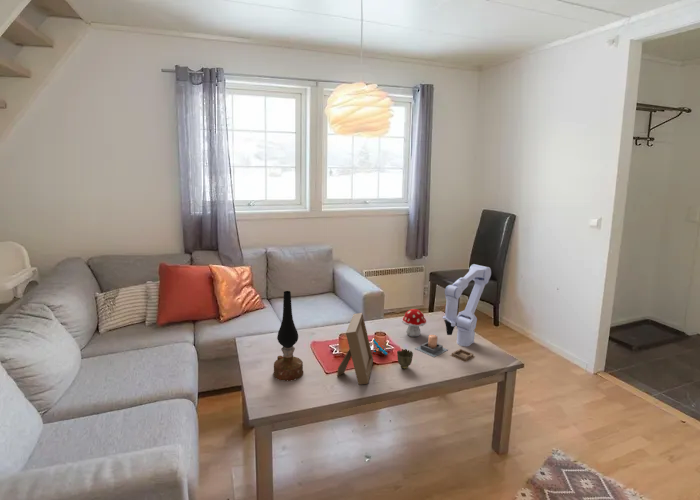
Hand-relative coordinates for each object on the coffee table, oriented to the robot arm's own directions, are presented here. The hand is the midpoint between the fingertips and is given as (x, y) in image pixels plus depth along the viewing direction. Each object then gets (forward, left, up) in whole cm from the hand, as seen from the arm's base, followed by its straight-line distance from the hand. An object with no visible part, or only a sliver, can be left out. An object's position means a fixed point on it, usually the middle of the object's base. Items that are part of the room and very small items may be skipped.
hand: (449, 334), depth 212 cm
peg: (+4, -7, -9) cm, 12 cm away
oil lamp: (+72, -37, -11) cm, 82 cm away
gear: (+26, -23, -11) cm, 36 cm away
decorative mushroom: (-5, -26, -11) cm, 28 cm away
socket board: (+4, -7, -10) cm, 13 cm away
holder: (-2, +7, -10) cm, 13 cm away
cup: (+28, -5, -11) cm, 31 cm away
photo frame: (+48, -18, -11) cm, 53 cm away
